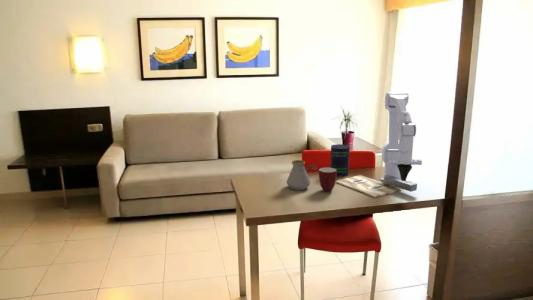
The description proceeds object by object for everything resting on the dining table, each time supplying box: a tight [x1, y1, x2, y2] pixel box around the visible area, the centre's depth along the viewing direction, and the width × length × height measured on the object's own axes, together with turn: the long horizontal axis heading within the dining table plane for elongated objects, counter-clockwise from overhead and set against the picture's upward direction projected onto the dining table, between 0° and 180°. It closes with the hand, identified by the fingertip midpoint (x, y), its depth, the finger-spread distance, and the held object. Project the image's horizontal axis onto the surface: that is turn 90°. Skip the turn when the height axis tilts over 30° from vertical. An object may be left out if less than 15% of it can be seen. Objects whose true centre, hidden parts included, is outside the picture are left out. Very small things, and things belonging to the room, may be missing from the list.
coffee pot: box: [286, 159, 319, 191], centre depth 182 cm, size 21×12×15 cm, turn 24°
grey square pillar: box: [383, 174, 418, 192], centre depth 180 cm, size 17×4×4 cm, turn 32°
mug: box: [318, 167, 337, 193], centre depth 181 cm, size 11×8×10 cm
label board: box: [335, 174, 402, 199], centre depth 188 cm, size 17×26×1 cm, turn 31°
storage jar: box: [329, 143, 351, 177], centre depth 207 cm, size 10×10×15 cm
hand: (403, 180), depth 173 cm, fingers closed
